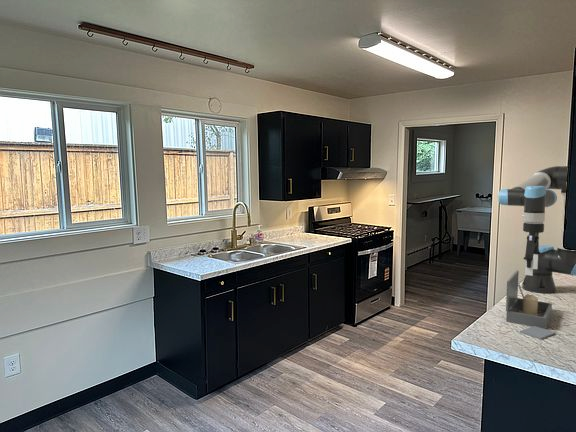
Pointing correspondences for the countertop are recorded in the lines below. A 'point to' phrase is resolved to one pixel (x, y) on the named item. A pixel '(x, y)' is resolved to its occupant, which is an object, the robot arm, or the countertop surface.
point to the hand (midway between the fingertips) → (531, 271)
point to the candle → (530, 305)
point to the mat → (537, 332)
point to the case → (516, 303)
